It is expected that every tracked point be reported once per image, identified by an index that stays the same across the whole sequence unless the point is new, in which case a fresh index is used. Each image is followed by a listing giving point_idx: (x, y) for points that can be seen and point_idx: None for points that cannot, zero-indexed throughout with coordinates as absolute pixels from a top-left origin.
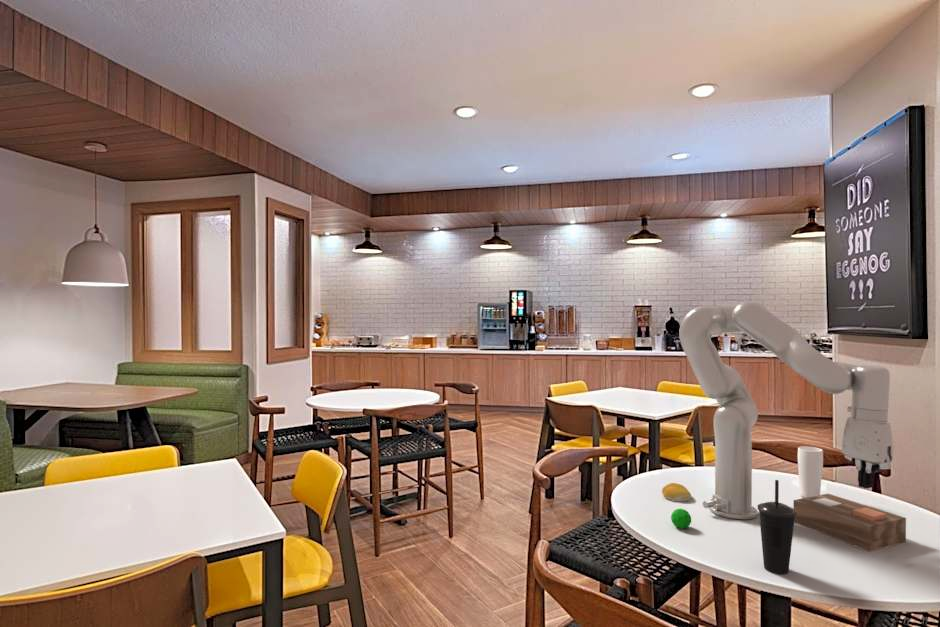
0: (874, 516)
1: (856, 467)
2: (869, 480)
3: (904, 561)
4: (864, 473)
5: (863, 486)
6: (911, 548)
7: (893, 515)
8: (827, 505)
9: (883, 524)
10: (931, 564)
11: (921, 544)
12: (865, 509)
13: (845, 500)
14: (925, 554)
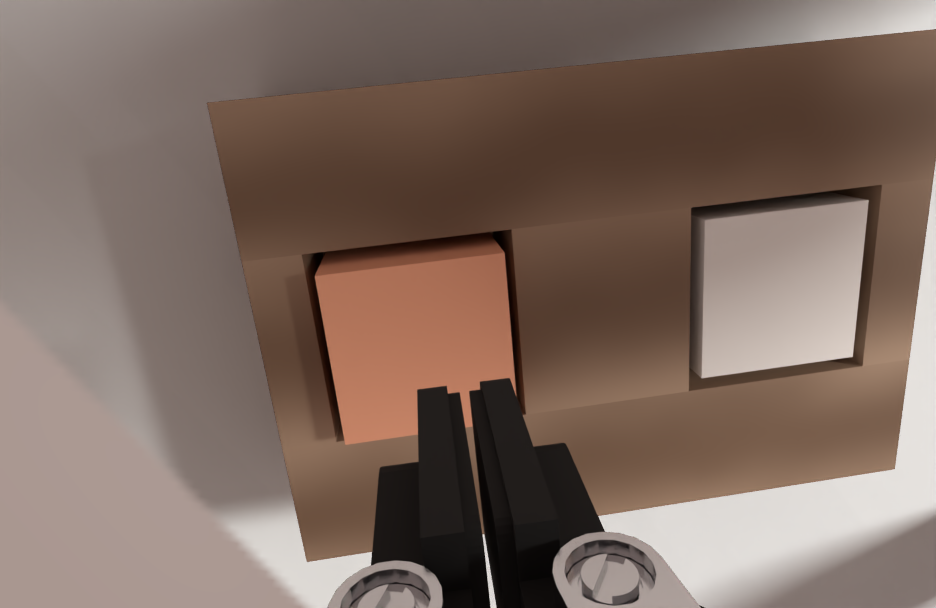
0: (318, 295)
1: (654, 567)
2: (384, 500)
3: (71, 179)
4: (440, 521)
5: (437, 390)
6: (239, 407)
7: (372, 522)
8: (724, 218)
9: (251, 295)
10: (7, 303)
11: (275, 509)
12: (478, 375)
13: (736, 461)
14: (147, 404)
